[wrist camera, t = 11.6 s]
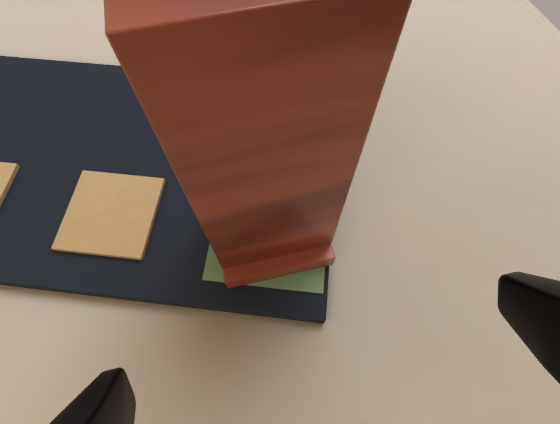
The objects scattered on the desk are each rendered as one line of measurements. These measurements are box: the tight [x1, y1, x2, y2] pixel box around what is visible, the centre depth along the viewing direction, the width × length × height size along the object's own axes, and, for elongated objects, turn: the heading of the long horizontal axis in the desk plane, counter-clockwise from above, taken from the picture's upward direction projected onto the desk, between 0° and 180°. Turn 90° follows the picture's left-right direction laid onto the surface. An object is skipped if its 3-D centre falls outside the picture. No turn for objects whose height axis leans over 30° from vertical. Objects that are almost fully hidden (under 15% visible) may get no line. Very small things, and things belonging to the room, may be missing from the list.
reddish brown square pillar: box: [104, 0, 412, 289], centre depth 12 cm, size 5×5×13 cm
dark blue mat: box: [0, 56, 329, 323], centre depth 20 cm, size 24×14×1 cm, turn 83°
